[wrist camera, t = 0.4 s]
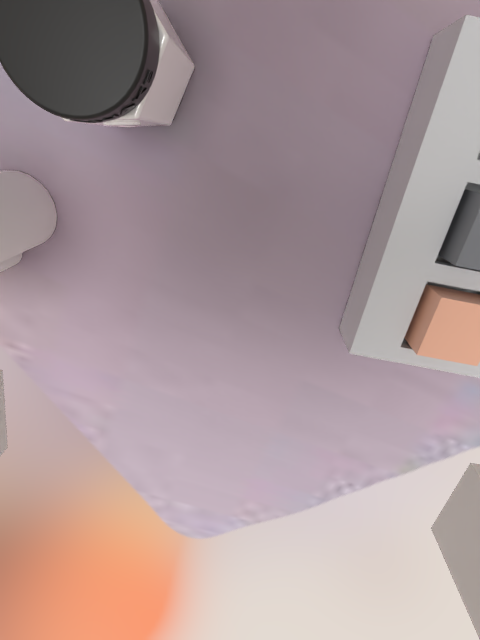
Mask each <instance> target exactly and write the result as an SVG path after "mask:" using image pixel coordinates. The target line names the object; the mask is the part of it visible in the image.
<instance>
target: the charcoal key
mask: <svg viewBox="0 0 480 640" xmlns="http://www.w3.org/2000/svg"><path fill="white" fill-rule="evenodd" d="M438 255H439V256H441V257H442V258H444V259H446V260H447V261H449V262H450V263H452V264H453V265H455V266H460V267H465V268H470V269H475V270H480V192H476V191H471V190H466V189H465V190H464V192H463V195H462V197H461V200H460V202H459V204H458V207H457V209H456V212H455V214H454V217H453V219H452V222H451V224H450V227H449V229H448V232H447V234H446V236H445V239H444V241H443V244H442V246H441V249H440V251H439V254H438Z"/></svg>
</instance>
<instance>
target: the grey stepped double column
mask: <svg viewBox="0 0 480 640" xmlns="http://www.w3.org/2000/svg"><path fill="white" fill-rule="evenodd" d="M56 222H57V213H56V208H55V204H54V202H53V200H52V198H51V196H50V194H49V192H48V191H47V190H46V189H45V188H44V186H43V185H42V184H41V183H40V182H39V181H37V180H36V179H34V178H33V177H32V176H30V175H28V174H25V173H23V172H20V171H9V170H6V171H0V272H2V271H4V270H6V269H8V268H10V267H12V266H14V265H16V264H18V263H19V262H20V260H21V259H22V252H25V251H27V250H29V249H31V248H33V247H36V246H38V245H40V244H42V243H44V242H45V241H47V240H48V239H49V238H50V237H51V236H52V234H53V232H54V230H55V228H56Z"/></svg>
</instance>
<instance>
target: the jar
mask: <svg viewBox="0 0 480 640" xmlns="http://www.w3.org/2000/svg"><path fill="white" fill-rule="evenodd" d="M0 62H1V64H2V66H3V68H4V70H5V71H6V73H7V74H8V76H9V77H10V79H11V80H12V81H13V83H14V84H15V85H16V86H17V87H18V89H19V90H20V91H21V92H22V93H23V94H24V95H25V96H26V97H27V98H29V99H30V100H31V101H32V102H34V103H35V104H36V105H38V106H39V107H41V108H42V109H44V110H46V111H48V112H50V113H52V114H54V115H57V116H60V117H62V119H63V120H65V121H68V122H77V123H86V124H95V125H104V126H111V127H137V126H163V125H171V123H172V121H173V119H174V116H175V114H176V111H177V109H178V106H179V104H180V102H181V99H182V97H183V94H184V92H185V90H186V87H187V85H188V82H189V80H190V78H191V75H192V73H193V70H194V64H193V62H192V60H191V58H190V56H189V55H188V53H187V51H186V49H185V48H184V46H183V44H182V42H181V40H180V39H179V37H178V35H177V33H176V31H175V30H174V28H173V26H172V24H171V23H170V21H169V19H168V17H167V15H166V14H165V12H164V10H163V8H162V6H161V5H160V4H159V2H158V1H157V0H0Z"/></svg>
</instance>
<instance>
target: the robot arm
mask: <svg viewBox="0 0 480 640" xmlns="http://www.w3.org/2000/svg"><path fill="white" fill-rule="evenodd" d="M7 446H8V445H7V430H6V415H5V401H4V386H3V370H0V456H1V455H2V454H3V452H4V451H5V450H6V449H7ZM431 529H432V531H433V534H434V536H435V538H436V541H437V543H438V545H439V547H440V550H441V552H442V554H443V557H444V559H445V561H446V563H447V566H448V568H449V570H450V573H451V575H452V577H453V579H454V582H455V584H456V586H457V589H458V591H459V593H460V595H461V598H462V600H463V602H464V604H465V607H466V609H467V612H468V614H469V616H470V618H471V621H472V623H473V625H474V627H475V630H476V632H477V634H478V636H479V639H480V465H479V464H474V463H470V465H469V467H468V468H467V470H466V471H465V473H464V475H463V476H462V478H461V479H460V481H459V483H458V484H457V486H456V488H455V489H454V491H453V493H452V494H451V496H450V498H449V499H448V501H447V503H446V504H445V506H444V508H443V509H442V511H441V513H440V514H439V516H438V518H437V519H436V521H435V522H434V524H433V526H432V527H431Z"/></svg>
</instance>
